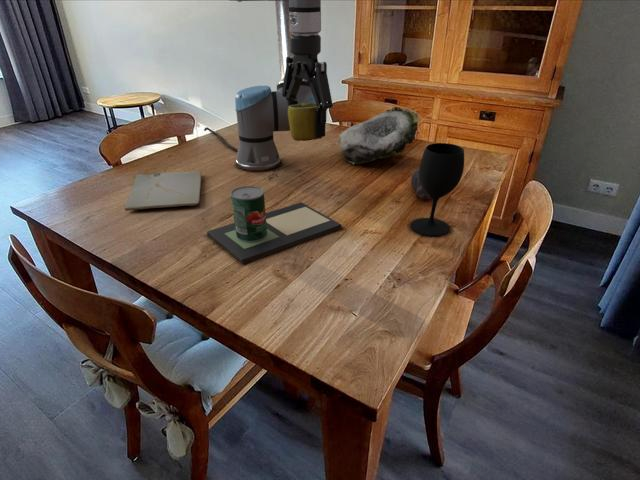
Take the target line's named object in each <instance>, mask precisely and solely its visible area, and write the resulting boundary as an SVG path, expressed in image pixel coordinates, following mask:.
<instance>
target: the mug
mask: <svg viewBox="0 0 640 480" xmlns="http://www.w3.org/2000/svg"><path fill="white" fill-rule="evenodd" d="M321 105H322V103H321ZM316 109H317V105H316V103H307V104H306V103H301V104H296V105H290V106H289V107H288V118H289V125H290V131H289V132H290V136H291V138H292V140H294V141H297V142H309V141H314V140H315V141H316V140H321V139H322V138H323V137H320V138H316V137H315V110H316Z"/></svg>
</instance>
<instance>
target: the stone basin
mask: <svg viewBox="0 0 640 480" xmlns="http://www.w3.org/2000/svg"><path fill="white" fill-rule="evenodd" d="M418 114H419V113H418V112H416V113H415V112H414V111H411V110H409V109H408V108H403V107H398V106H393V107H392V108H391V109H386V111H382V112H381V113H379V114H377V115H375V116H373V117H371V118H369V119H367V120H365V121H362V122H359V123H357V124H354V125H351V126H349V127H348V128H347V129H345V130H343V131H342V132H341V134H339V136H338V144H339V145H338V146H339V150H340V152H341V156H343V157H344V158H345V160H346V161H347V162H348V163H351V164H352V165H354V166H355V164H356V165H359V164H364V163H369V162H373V161H375V160H376V159H377V160H378V159H379V160H380V159H385V158H386V159H387V158H390V157H392V156H395V155H397V154H401V153H403V152H404V150H405V149H406V146H407V144H408V145H410V144H413V141H414V140H416V135H417V131H418V123H419V115H418Z"/></svg>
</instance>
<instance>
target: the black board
mask: <svg viewBox="0 0 640 480" xmlns="http://www.w3.org/2000/svg"><path fill="white" fill-rule="evenodd" d="M266 224H267V237H266V238H265V239H263V240H261V241H257V242H243V241H240V240H238V239H237V237H236V230H235V223H234V222H233V223H232V222H231V223H230V224H226V225H223V226H220V227H217V228H213V229H210V230H207V231H206V235H207V237H209V238H210V239H211V240H212V241H214V242H215V243H216V244H217V245H219V246H220V248H222V249H223V250H225V251H226V252H227V253H228V254H229V255H231V256H232V257H233V258H234V259H235V260H237V261H238V262H239V263H240V264H242V265H244V264H247V263H250V262H252V261H255V260H259V259H262V258H263V257H267V256H269V255H272V254H275V253H277V252H280V251H283V250H286V249H289V248H291V247H294V246H296V245H300V244H302V243H305V242H308V241H311V240H313V239H315V238H319V237H321V236H324V235H328V234H330V233H332V232H336V231H338V230H341V229H342V224H341V223H340V222H337V221H336V220H335V219H332V218H331V217H329V216H327V215H325V214H323V213H322V212H320V211H318V210H316V209H314V208H312V207H311V206H309V205H307V204H305V203H303V202H301V201H300V202H298V203H297V202H296V203H294V204H291V205H288V206H285V207H281V208H278V209H274V210H272V211H269V212H266Z"/></svg>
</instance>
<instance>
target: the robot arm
mask: <svg viewBox="0 0 640 480" xmlns="http://www.w3.org/2000/svg"><path fill="white" fill-rule="evenodd" d="M229 1H232V2H239V3H240V2H241V3H242V2H257V1H258V2H259V1H260V2H261V1H262V2H263V1H265V0H229ZM267 1H268V2H269V1H271V2H274V5H275V20H276V32H277V44H278V45H277V48H278V59H279V60H278V61H279V72H280V73H279V74H280V75H279V76H280V80H278V82H277V84H276V90H275V91H272V88H271V86H269V85H254V86H249V87H246V88H243V89H241V90H239V91H238V92H236V93H235V97H234V103H235V108H234V110H235V112H236V122H237V130H238V131H237V132H238V147H237V148H236V147H234V146H232V145H231V144H229V143H228V142H227V141H226V140H225V139H224V138H223V137H222V136H221V135H220V134H219V133H218V132H216V131H215V130H212V129H211V128H209V127H208V126H207V127H204V129H203V131H204V132H207V131H209V132H210V133H211V134H213V135H215V136H216V137H217V138H218V139H219V140H220V141H221V142H222V143H223V144H224V145H225V146H226V147H228V148H229V149H231V150H233V151H235V152H236V158H235V163H236V167H237V168H238V169H241V170H244V171H248V172H263V171H269V170H274V169H275V168H278V167H279V166H280V165H281V157H280V154H279V151H278V149H277V146H276V143H275V139H274V133H275V132H290V125H289V118H288V107H289V106H290V105H296V104H301V103H306V104H307V103H316V105H317V109H316V110H315V137H316V138H320V137H322V138H323V137H326V124H327V112H328V109H331V108H333V106H334V105H333V101H332V100H333V99H332V93H331V89H330V88H331V87H330V83H329V80H328V73H327V72H328V71H327V69H328V66H327V62H326V61H321V62H320V61H319V59H318V56H319V54H320V53H321V51H322V37H321V35H320V34H319V33H321V32H322V0H267ZM321 104H322V105H321ZM215 132H216V133H215Z"/></svg>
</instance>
